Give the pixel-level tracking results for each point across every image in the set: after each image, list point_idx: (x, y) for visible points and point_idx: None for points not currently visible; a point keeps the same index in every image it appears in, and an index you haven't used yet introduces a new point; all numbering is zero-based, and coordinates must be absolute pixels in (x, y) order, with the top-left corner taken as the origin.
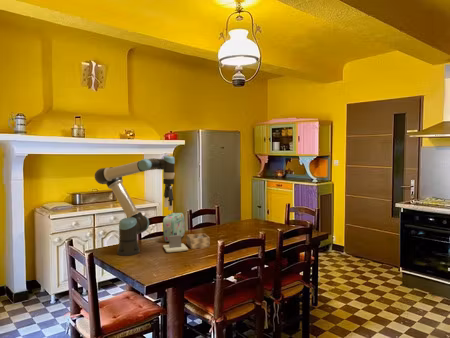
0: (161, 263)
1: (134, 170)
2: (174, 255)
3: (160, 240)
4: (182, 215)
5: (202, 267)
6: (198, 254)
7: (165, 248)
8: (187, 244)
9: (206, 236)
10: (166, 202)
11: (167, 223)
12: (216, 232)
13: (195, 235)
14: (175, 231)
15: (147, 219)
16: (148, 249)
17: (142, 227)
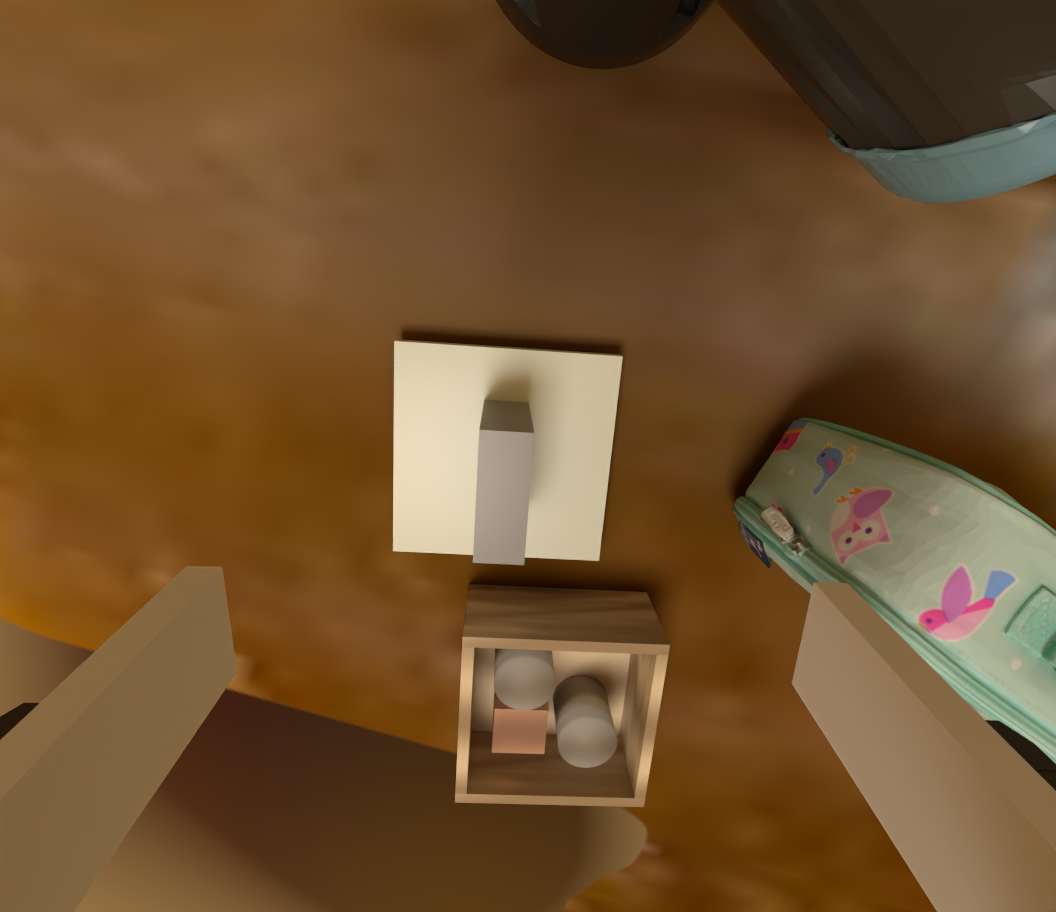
0: (84, 209)
1: None
2: (312, 393)
3: (912, 393)
4: None
5: None
6: (275, 592)
7: (482, 350)
8: (614, 592)
9: (534, 790)
10: (885, 745)
11: (882, 517)
12: (882, 900)
13: (642, 716)
14: (777, 563)
15: (1002, 150)
16: (629, 188)
17: (750, 19)
